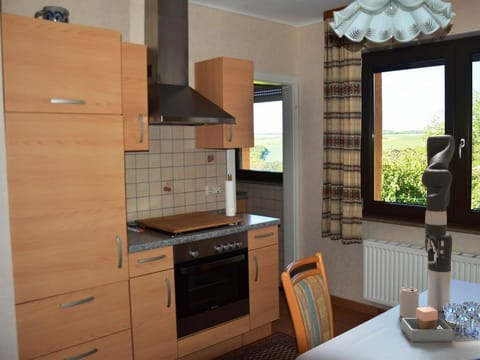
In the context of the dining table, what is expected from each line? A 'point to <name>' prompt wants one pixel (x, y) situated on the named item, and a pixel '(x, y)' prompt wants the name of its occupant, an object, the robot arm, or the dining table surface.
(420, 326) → the block
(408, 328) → the tote
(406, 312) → the can
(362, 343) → the dining table surface
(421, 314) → the light box
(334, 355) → the dining table surface
